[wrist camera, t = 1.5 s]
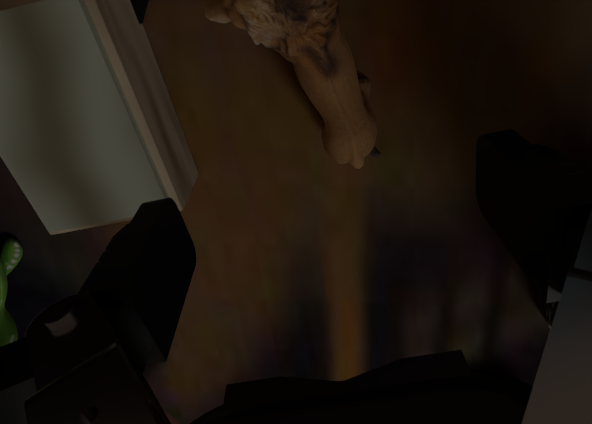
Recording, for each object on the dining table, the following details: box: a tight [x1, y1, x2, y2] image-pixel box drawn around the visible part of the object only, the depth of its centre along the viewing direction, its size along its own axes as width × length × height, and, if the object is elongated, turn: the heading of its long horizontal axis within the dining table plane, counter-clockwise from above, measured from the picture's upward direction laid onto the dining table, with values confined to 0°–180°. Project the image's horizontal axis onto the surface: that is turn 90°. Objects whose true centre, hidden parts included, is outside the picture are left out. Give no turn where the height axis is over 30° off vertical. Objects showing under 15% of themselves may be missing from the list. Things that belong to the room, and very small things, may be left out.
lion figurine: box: [204, 0, 381, 169], centre depth 23 cm, size 15×5×9 cm, turn 35°
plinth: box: [0, 0, 198, 235], centre depth 25 cm, size 9×13×6 cm
